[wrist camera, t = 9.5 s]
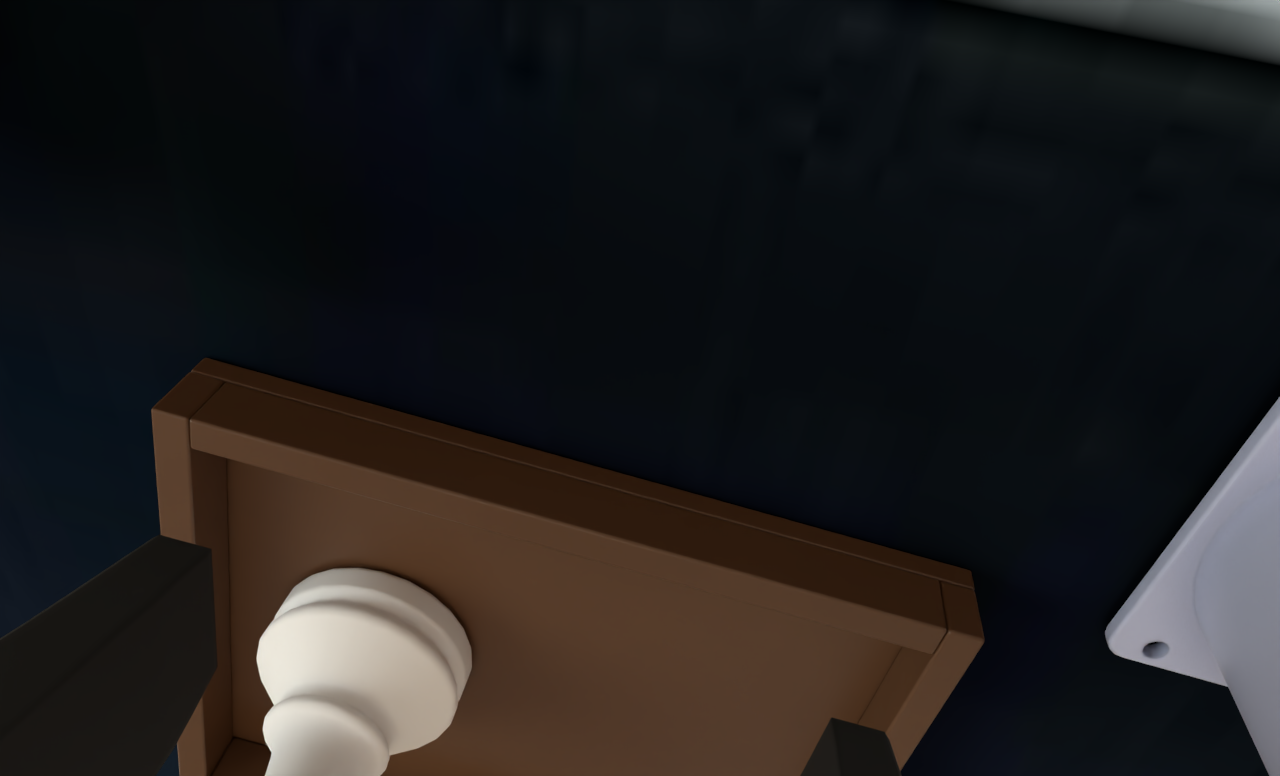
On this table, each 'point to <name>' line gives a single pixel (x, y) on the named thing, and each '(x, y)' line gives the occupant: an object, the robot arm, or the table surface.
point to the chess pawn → (358, 673)
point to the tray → (549, 593)
